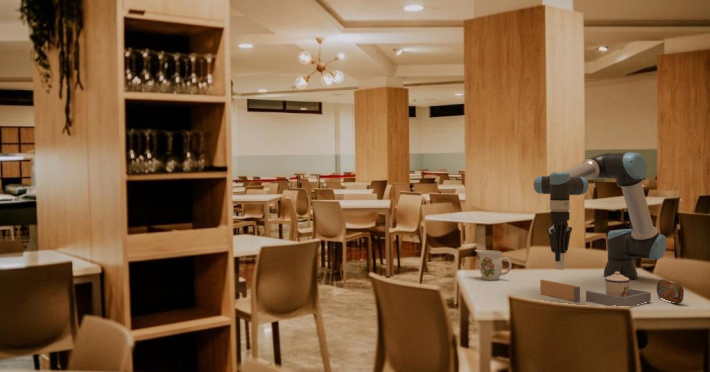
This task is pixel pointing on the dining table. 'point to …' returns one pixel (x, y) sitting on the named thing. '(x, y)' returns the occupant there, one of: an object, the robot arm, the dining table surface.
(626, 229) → the robot arm
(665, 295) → the tin
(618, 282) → the teacup with lid
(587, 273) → the dining table surface
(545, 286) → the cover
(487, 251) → the pitcher
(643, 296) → the grey tray
